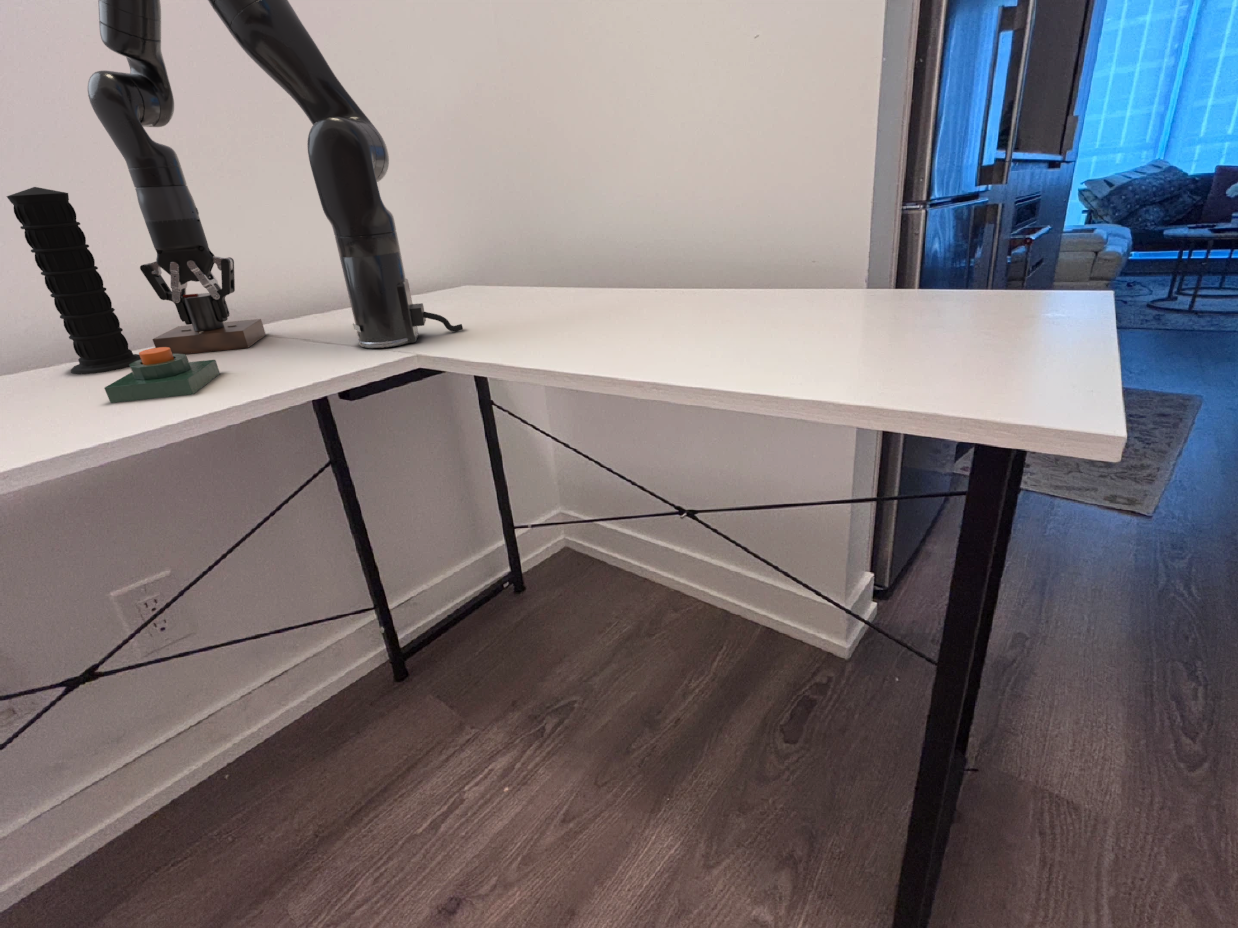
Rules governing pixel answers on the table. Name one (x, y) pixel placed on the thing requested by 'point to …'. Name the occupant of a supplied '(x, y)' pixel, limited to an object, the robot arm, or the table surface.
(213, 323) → the dial
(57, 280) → the handle grip
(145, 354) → the button
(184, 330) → the panel
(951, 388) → the table surface
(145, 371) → the button box
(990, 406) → the table surface
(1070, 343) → the table surface
